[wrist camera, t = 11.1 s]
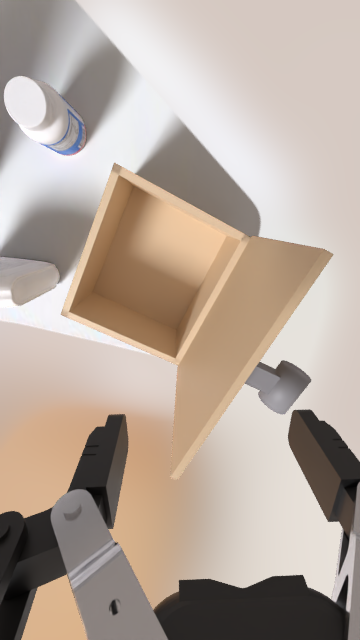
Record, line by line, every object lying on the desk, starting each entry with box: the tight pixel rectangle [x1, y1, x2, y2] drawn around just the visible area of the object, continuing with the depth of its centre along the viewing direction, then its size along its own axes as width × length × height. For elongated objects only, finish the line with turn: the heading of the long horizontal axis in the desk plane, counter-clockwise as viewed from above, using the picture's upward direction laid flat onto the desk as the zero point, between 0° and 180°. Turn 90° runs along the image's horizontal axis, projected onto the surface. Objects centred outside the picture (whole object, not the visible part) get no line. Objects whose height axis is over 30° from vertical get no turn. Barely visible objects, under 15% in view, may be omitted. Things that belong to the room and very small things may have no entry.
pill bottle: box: [4, 76, 86, 156], centre depth 29 cm, size 6×5×10 cm
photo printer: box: [0, 257, 60, 307], centre depth 34 cm, size 10×4×12 cm, turn 84°
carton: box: [61, 163, 251, 365], centre depth 35 cm, size 16×18×10 cm
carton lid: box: [170, 236, 333, 480], centre depth 24 cm, size 16×18×6 cm
